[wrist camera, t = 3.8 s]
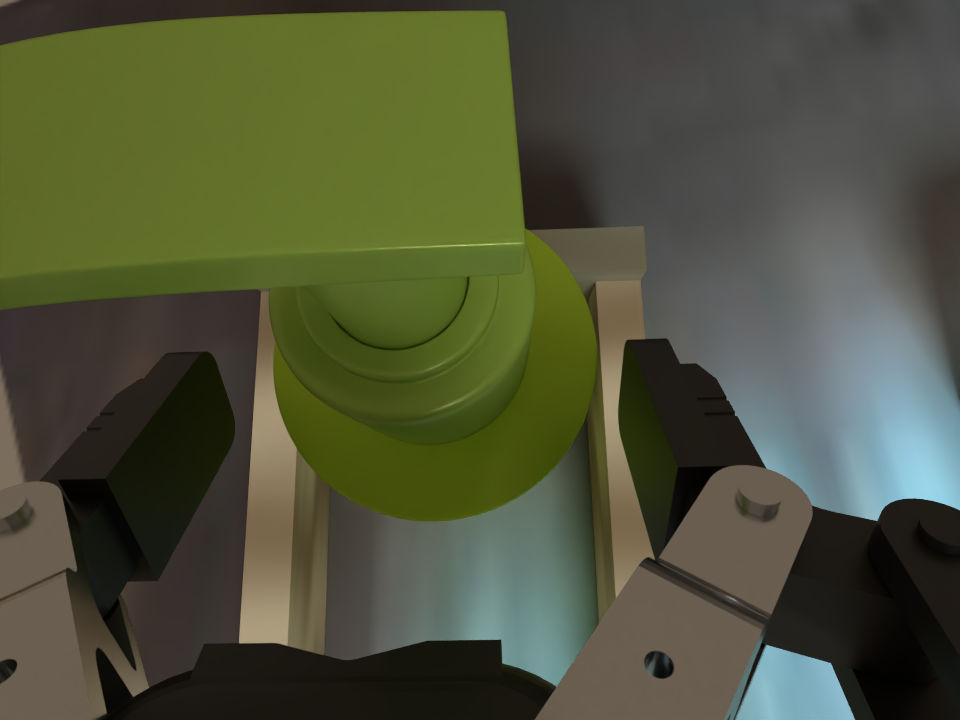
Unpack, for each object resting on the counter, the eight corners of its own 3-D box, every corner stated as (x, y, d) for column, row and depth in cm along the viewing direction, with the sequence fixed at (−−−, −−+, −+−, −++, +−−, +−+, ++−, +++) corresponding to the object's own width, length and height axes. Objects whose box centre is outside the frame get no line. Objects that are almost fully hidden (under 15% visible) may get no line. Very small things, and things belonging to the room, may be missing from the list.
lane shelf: (301, 288, 25) (252, 239, 20) (616, 279, 25) (643, 226, 20) (278, 760, 21) (211, 839, 16) (650, 759, 21) (694, 839, 16)
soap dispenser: (369, 363, 24) (-175, -162, 5) (540, 350, 24) (688, -245, 5) (372, 513, 23) (-348, 616, 4) (554, 501, 23) (836, 540, 3)
